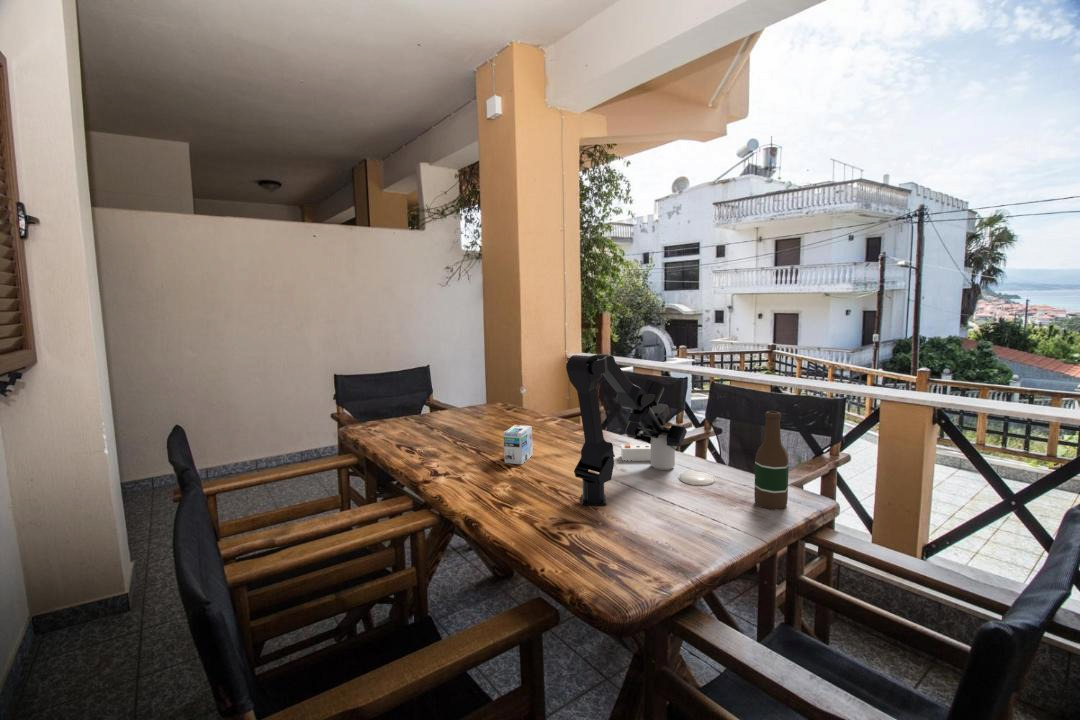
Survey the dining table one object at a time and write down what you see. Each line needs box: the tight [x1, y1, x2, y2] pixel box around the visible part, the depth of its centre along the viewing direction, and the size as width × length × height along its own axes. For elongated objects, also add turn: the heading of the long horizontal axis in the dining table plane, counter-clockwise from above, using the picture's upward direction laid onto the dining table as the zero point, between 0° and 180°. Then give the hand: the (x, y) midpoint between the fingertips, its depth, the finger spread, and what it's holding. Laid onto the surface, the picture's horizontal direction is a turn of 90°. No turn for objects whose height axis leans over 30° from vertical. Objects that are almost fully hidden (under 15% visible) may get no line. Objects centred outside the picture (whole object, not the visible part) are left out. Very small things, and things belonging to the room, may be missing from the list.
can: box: [650, 435, 676, 471], centre depth 154 cm, size 8×8×12 cm
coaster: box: [678, 471, 716, 486], centre depth 143 cm, size 10×10×1 cm
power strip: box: [620, 443, 651, 462], centre depth 163 cm, size 5×14×5 cm, turn 86°
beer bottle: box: [754, 410, 790, 511], centre depth 123 cm, size 8×8×24 cm
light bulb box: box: [503, 424, 534, 465], centre depth 166 cm, size 11×7×11 cm, turn 161°
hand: (664, 445), depth 155 cm, fingers closed on can, 7 cm apart
